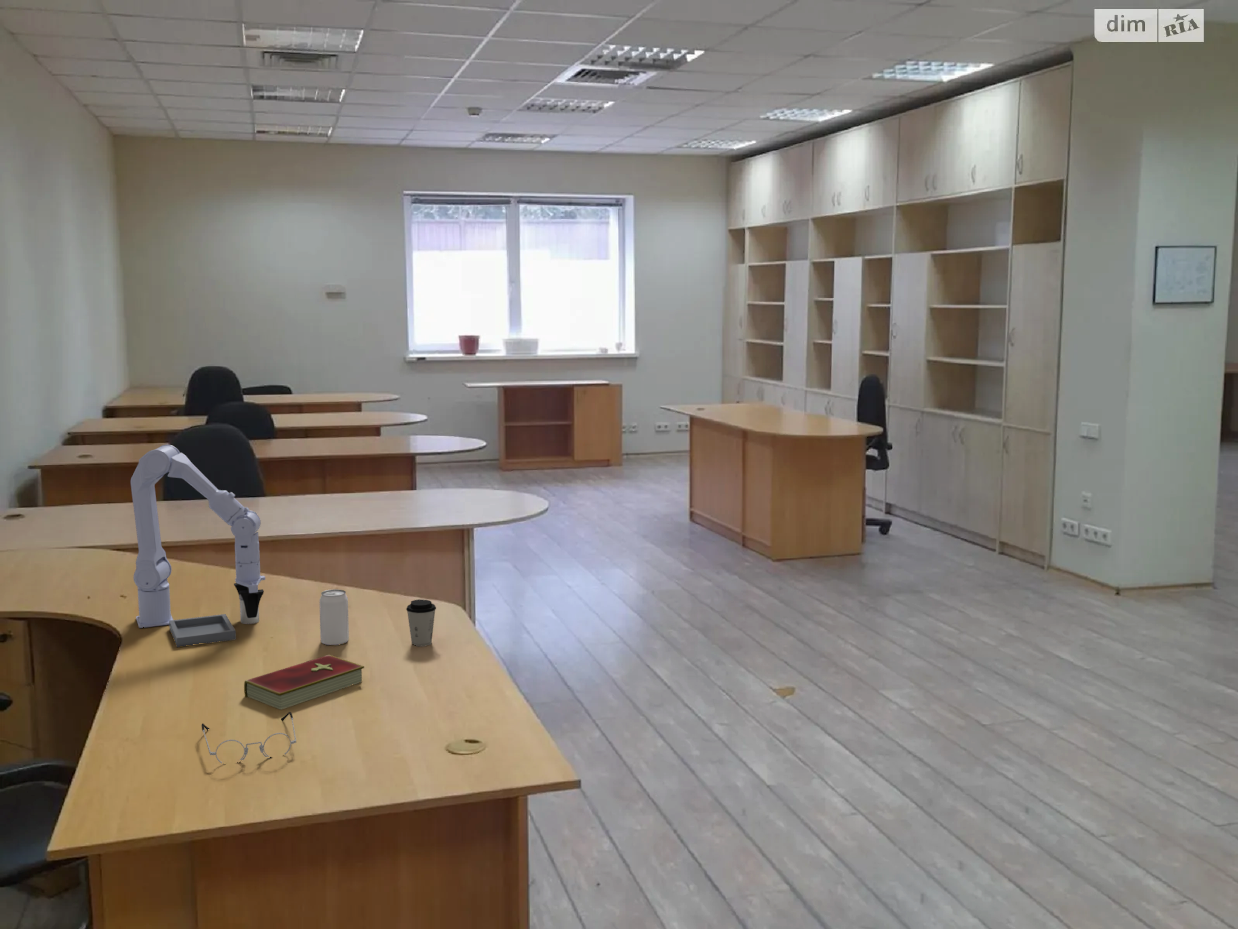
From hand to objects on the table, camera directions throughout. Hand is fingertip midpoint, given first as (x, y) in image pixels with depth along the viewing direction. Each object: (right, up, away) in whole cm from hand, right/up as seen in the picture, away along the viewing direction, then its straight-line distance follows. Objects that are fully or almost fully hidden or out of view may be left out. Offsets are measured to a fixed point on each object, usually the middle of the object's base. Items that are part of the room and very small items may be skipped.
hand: (249, 614), depth 269 cm
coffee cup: (+46, -5, -14) cm, 48 cm away
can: (+25, -5, -14) cm, 29 cm away
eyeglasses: (+25, -14, -72) cm, 77 cm away
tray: (-8, -3, -11) cm, 14 cm away
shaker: (0, -2, 0) cm, 2 cm away
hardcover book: (+27, -10, -45) cm, 53 cm away
